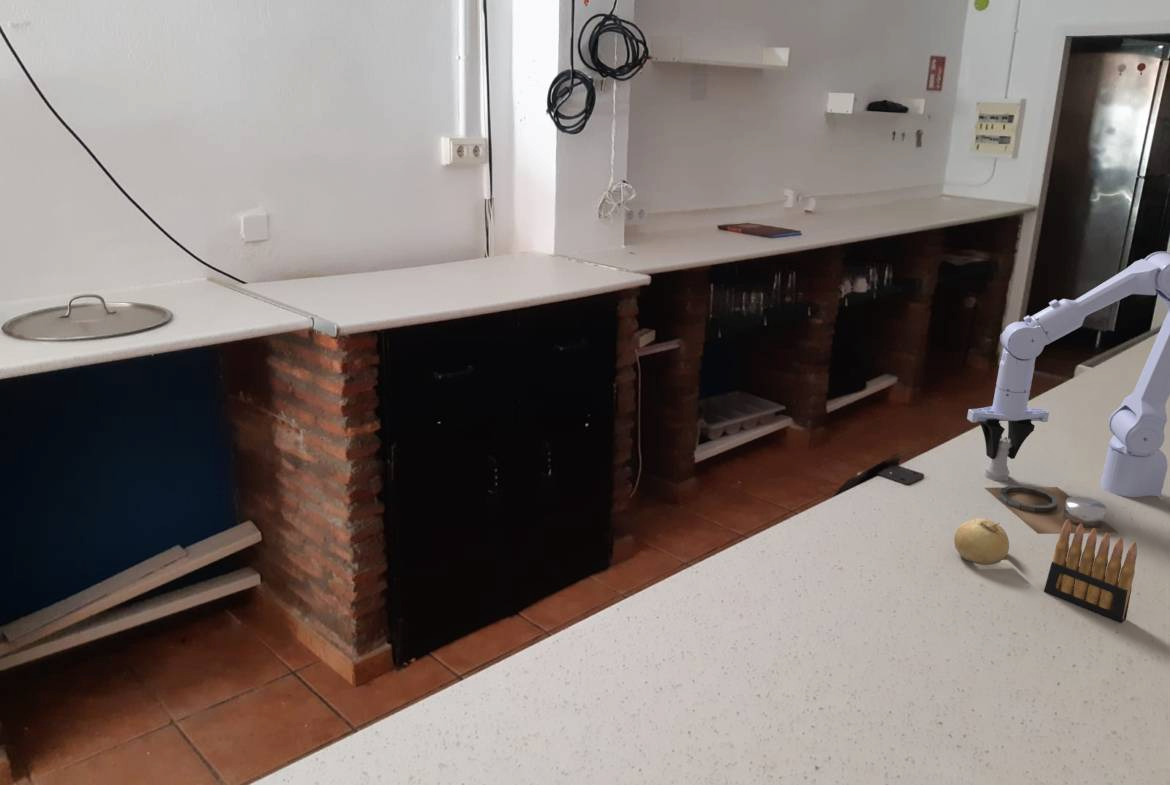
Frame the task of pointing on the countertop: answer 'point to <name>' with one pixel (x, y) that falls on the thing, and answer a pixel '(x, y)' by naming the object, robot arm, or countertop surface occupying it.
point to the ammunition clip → (1092, 574)
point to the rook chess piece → (999, 462)
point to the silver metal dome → (1084, 512)
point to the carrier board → (1045, 521)
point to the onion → (981, 541)
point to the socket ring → (1028, 507)
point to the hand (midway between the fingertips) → (1000, 456)
